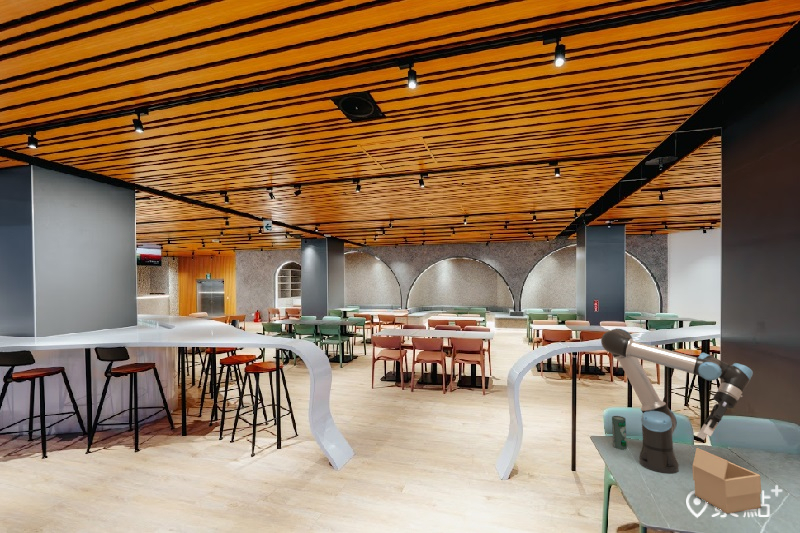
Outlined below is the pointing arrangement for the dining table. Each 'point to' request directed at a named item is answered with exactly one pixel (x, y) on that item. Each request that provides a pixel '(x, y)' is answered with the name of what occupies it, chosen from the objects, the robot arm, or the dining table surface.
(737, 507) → the carton
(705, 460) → the flap
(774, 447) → the dining table surface
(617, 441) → the can
